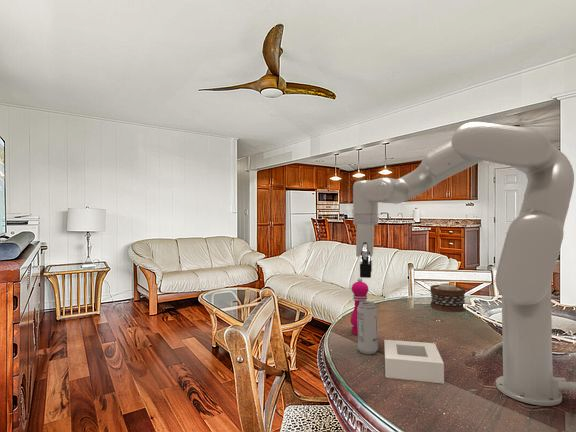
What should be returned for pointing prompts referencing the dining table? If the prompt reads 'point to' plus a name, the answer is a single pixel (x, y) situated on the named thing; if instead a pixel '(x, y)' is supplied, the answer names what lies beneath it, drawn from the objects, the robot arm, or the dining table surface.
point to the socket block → (413, 361)
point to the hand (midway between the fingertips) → (366, 274)
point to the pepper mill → (359, 295)
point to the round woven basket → (447, 297)
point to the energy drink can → (367, 327)
